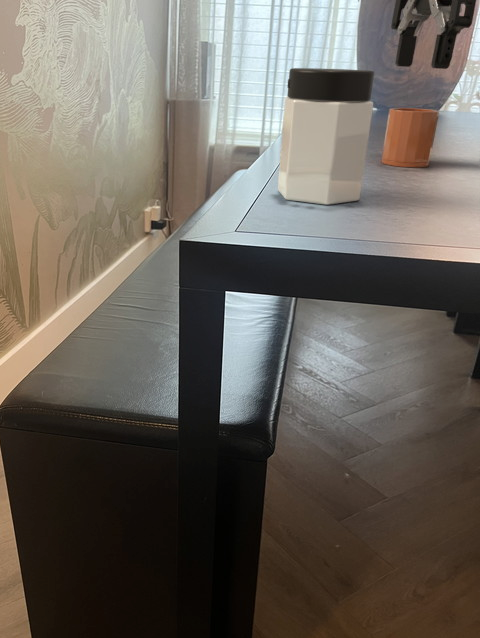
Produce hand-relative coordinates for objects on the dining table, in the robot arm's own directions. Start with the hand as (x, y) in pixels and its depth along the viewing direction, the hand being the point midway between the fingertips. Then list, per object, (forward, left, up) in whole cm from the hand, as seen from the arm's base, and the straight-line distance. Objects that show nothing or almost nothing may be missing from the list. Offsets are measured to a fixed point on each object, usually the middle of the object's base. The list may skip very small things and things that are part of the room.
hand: (420, 67), depth 80 cm
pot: (0, 0, -12) cm, 12 cm away
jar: (+22, +19, -12) cm, 32 cm away
